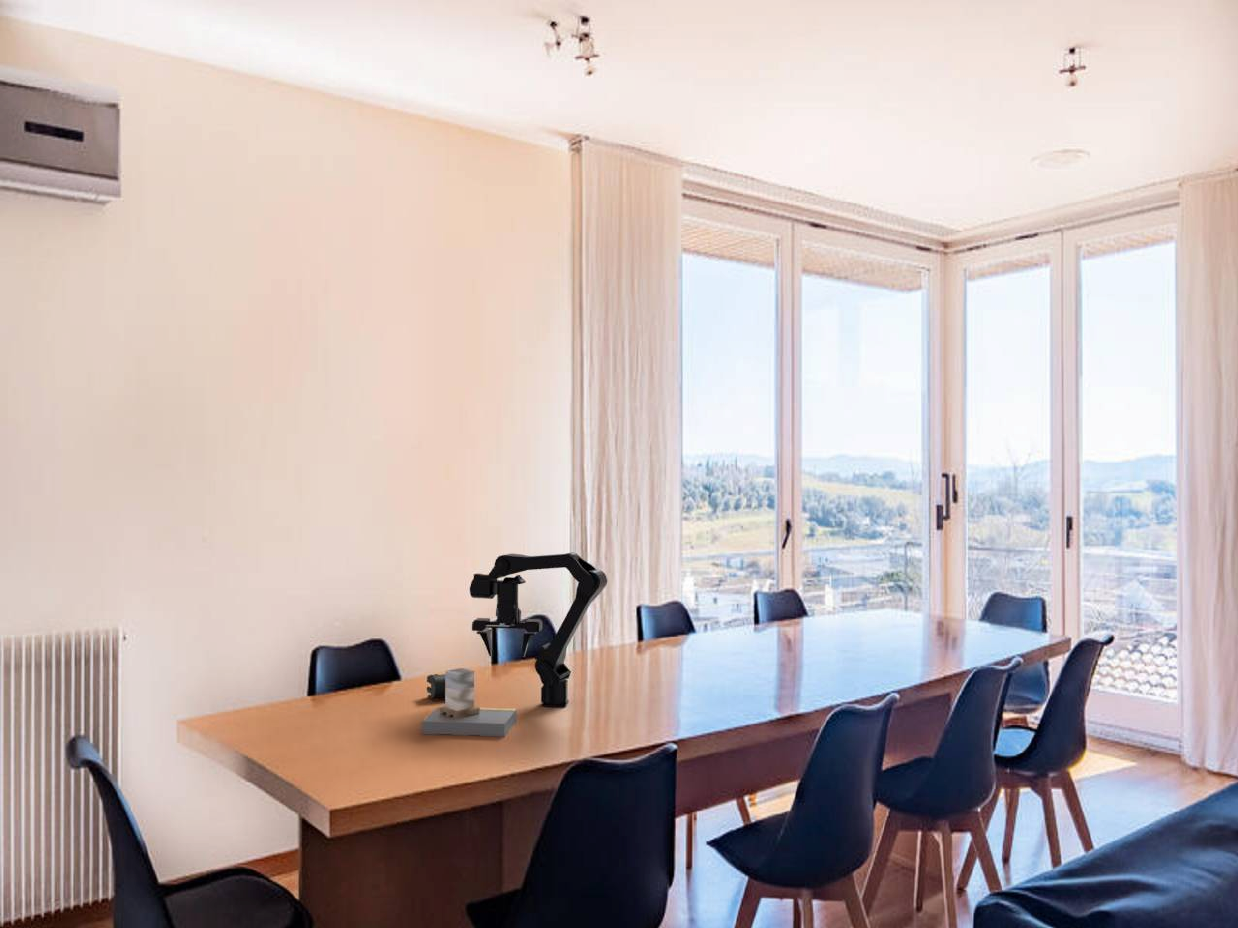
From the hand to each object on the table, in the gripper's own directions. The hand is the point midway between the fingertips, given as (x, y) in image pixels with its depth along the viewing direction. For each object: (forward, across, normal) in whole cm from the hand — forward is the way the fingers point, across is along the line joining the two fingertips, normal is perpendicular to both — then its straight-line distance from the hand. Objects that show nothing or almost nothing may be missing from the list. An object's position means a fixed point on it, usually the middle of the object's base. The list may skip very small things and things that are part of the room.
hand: (507, 656), depth 256 cm
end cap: (+12, +17, -1) cm, 21 cm away
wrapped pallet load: (+9, +6, +28) cm, 30 cm away
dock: (+12, +3, +28) cm, 31 cm away
